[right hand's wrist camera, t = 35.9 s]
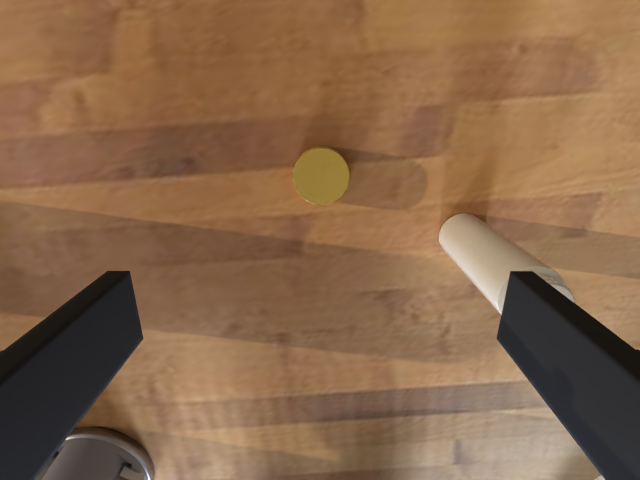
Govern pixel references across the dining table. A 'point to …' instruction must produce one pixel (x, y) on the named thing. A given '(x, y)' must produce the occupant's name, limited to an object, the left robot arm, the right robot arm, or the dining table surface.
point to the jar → (491, 257)
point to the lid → (321, 175)
